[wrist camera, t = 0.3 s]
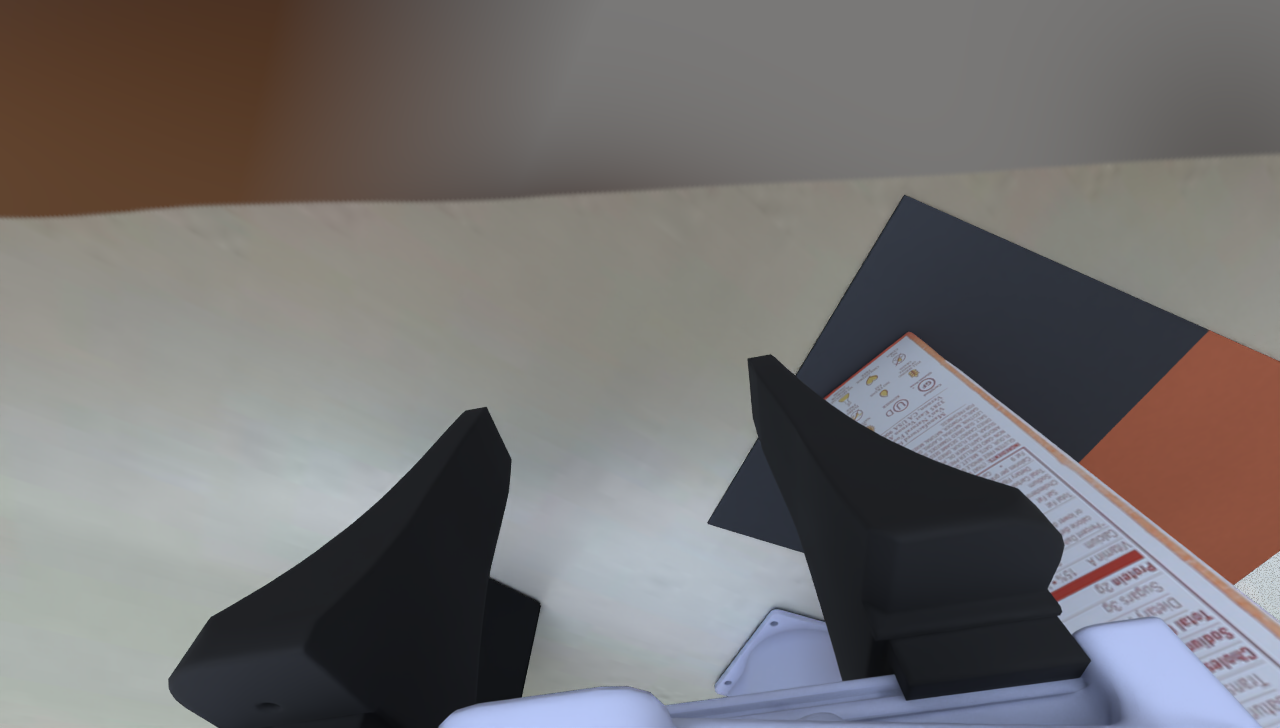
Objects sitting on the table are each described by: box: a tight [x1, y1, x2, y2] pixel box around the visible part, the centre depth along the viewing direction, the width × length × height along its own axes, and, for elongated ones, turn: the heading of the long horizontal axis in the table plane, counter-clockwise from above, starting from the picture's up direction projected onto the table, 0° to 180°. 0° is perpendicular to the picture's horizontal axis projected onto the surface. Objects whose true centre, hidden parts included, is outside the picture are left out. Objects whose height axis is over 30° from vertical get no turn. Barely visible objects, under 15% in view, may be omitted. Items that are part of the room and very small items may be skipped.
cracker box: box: [823, 332, 1280, 728], centre depth 17 cm, size 14×6×21 cm, turn 47°
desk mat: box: [708, 195, 1280, 585], centre depth 28 cm, size 20×33×1 cm, turn 69°
